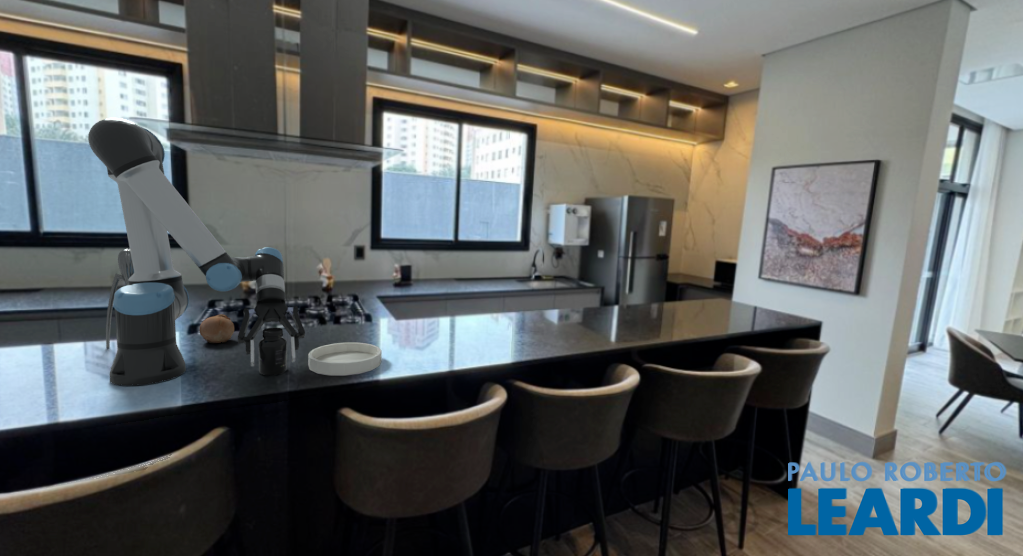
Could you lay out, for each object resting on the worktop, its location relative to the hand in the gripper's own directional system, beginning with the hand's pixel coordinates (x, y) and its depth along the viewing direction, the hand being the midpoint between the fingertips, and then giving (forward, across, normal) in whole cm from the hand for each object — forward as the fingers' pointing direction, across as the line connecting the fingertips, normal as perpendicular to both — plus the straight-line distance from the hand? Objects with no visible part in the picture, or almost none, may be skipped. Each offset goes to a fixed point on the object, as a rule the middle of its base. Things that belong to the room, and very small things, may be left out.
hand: (273, 361), depth 117 cm
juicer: (-26, +36, -32) cm, 55 cm away
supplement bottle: (+1, 0, -5) cm, 5 cm away
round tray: (0, -19, -5) cm, 20 cm away
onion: (-25, +15, -31) cm, 42 cm away
